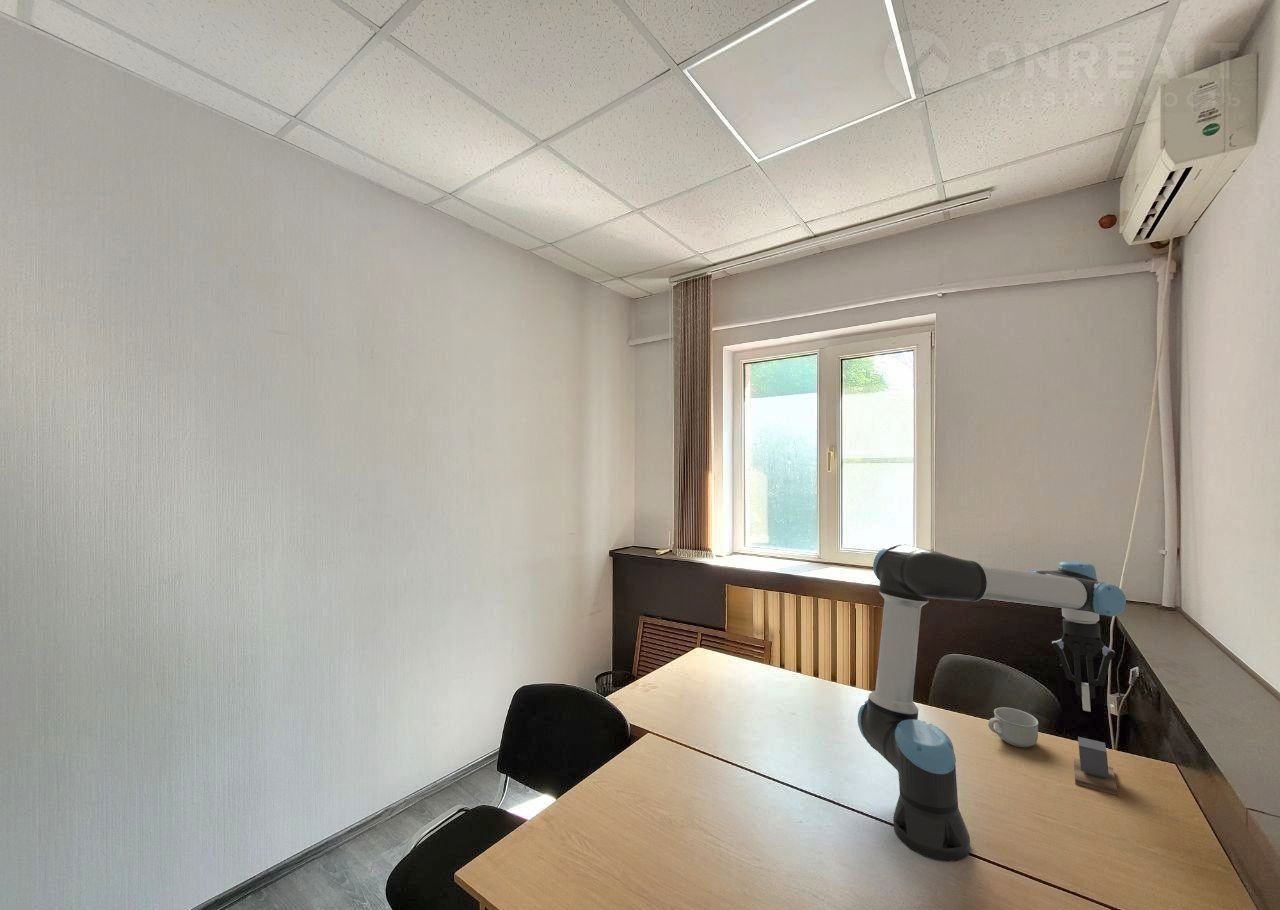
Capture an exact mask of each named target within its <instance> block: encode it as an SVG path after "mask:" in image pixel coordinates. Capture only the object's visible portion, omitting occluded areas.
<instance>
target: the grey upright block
mask: <svg viewBox="0 0 1280 910" xmlns="http://www.w3.org/2000/svg"><path fill="white" fill-rule="evenodd" d="M1077 740H1078V741H1077V742H1078V743H1077V744H1078V755H1079V759H1080V766H1081V771H1084V772H1087V773H1091V774H1095V775H1099V776H1103V777H1107V778H1109V772H1108V767H1109V765H1108V763H1109V762H1108V751H1107V747H1106V742H1104V741H1103V742H1102V741H1099V740H1096V739H1095V740H1094V739H1089V738H1086V737H1082V736H1081V737H1080V736H1077Z"/></svg>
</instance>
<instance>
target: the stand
mask: <svg viewBox="0 0 1280 910" xmlns="http://www.w3.org/2000/svg"><path fill="white" fill-rule="evenodd" d="M1072 759H1073V769H1074V781H1075V782H1074V783H1075V784H1074V785H1077V786H1078V785H1079V786H1083V787H1085V788H1089V789H1093V790H1097V791H1100V792H1104V793H1107V794H1112V795H1114V796H1119V793H1118V792H1119V791H1118V787H1117V782H1116V777H1115V770H1114V767H1111V766H1108V772H1109V778H1107V777H1103V776H1099V775H1095V774H1091V773H1087V772H1084V771H1081V766H1080V758H1074V757H1073V758H1072Z"/></svg>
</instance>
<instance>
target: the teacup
mask: <svg viewBox="0 0 1280 910" xmlns="http://www.w3.org/2000/svg"><path fill="white" fill-rule="evenodd" d="M993 714H994V717H991V718H990V719H989V720H988V722H987V723H988V724H987V726H988V728H989V729H990V731H992V733H994V734H996V735H997V736H998V737H999V738H1001V739H1002V740H1003V741H1004V742H1005V743H1007V744H1009V745H1011V746H1015V747H1017V748H1029V747H1032V746H1034V745H1035V744H1037V742H1038V739H1039V720H1038V719H1037V718H1036V717H1035V716H1034V715H1032V714H1031V713H1028V712H1025V711H1023V710H1020V709H1017V708H1013V707H1004V706H1003V707H997V708H995V709H994V710H993ZM994 727H995V728H994Z"/></svg>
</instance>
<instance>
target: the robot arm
mask: <svg viewBox="0 0 1280 910" xmlns="http://www.w3.org/2000/svg"><path fill="white" fill-rule="evenodd" d="M872 565H873V566H872V567H873V569H872V570H873V573H874V576H876V579H878V581H879V589H878V593H879V595H881V597H882V598H883V600H884V603H883V614H882V623H881V624H882V625H881V630H880V631H881V633H880V641H879V651H878V652H879V653H878V661H877V671H876V681H875V682H876V683H875V690H873V691H871V692H870V693H869V694H868V696H867V697H868V699H867V700H865V701H864V704H862V705H860V707H859V710H858V713H857V726H858V729H859V731H860V733H861V735H862V737H863V738H864V739H865V740H866V742H867V743H868V744H869V745H870V747H871V748H872V749H873V750H875V751H876V752H877V753H879V754H880V756H882V757H883V758H884V759H885V760H886V761H887V762H888V763H889V764H890V765H891V766H892V767H893V768H894V769H895V770H896V771H897V773H898V786H899V796H898V798H897V799H898V800H897V802H896V805H895V809H894V812H893V816H892V819H893V820H892V822H893V830H894V832H895V834H896V835H895V836H897V838H898V839H899V840H900V841H901V842H902V843H903V844H904V845H905V846H906V847H907V848H909V849H910V850H912V851H913V852H915V853H918V854H919V855H922V856H924V857H926V858H929V859H932V860H935V861H942V862H958V861H962V860H963V859H965V858H967V857H968V856H969V854H970V853H971V839H970V838H971V837H970V833H969V830H968V829H967V826H966V824H965V821H964V819H963V816H962V813H961V811H960V809H959V799H958V788H957V787H958V782H957V770H956V767H957V766H956V765H957V764H956V761H957V758H956V754H955V749H954V745H953V742H952V739H951V738H950V737H949V736H948V734H947V733H946V732H944V730H942V729H941V728H939V727H938V726H936V725H934V724H932V723H927V722H926V721H924V720H920V719H919V707H918V706H917V705H916V703H915V702H914V700H913V698H914V687H915V686H914V685H915V678H916V677H915V676H916V667H917V657H918V656H917V654H918V647H919V646H918V643H919V635H920V634H919V633H920V624H921V623H920V622H921V612H922V607H923V606H925V605H927V604H928V603H929V602H930V599H935V600H949V601H963V602H978V601H981V600H982V599H984V600H991V601H1002V602H1010V603H1019V604H1027V605H1034V606H1043V607H1052V608H1060V609H1061V616H1062V617H1063V618H1062V631H1063V633H1062V636H1061V638H1060V639H1058V640H1052V641H1051V646H1052V647H1053V648H1054V650H1055V651H1056V652H1057V656H1058V658H1059V660H1060V664H1061V666H1062V668H1063V671H1064V675H1065V677H1066V679H1067V680H1068V681H1072V682H1073V683H1074V684H1075V693H1076V696H1079V697H1081V701H1082V702H1081V703H1082V710H1083V711H1085V712H1090V713H1091V699H1093V700H1095V699H1096V687H1099V686H1100V687H1103V686H1104V685H1105V682H1106V679H1107V674H1108V671H1109V668H1110V667H1109V666H1110V663H1111V660H1112V659H1113V658H1114V657H1115V656H1116V652H1115V650H1114V649H1112V648H1109V647H1107V646H1106V645H1105V644H1104V642H1103V641H1102V636H1101V625H1100V623H1099V621H1100V616H1107V617H1117V616H1119V615H1121V614H1122V613H1123V612H1124V611H1125V609H1126V603H1127V597H1126V595H1125V592H1124V591H1123V590H1122V589H1121V588H1120V587H1118V586H1116V585H1114V584H1111V583H1107V582H1105V581H1098V577H1097V572H1096V567H1095V566H1094V564H1091V563H1090V562H1084V561H1076V560H1075V561H1074V560H1065V561H1064V560H1063V561H1061V562H1059V563H1058V569H1056V570H1030V571H1021V570H1012V569H1005V568H997V567H989V566H982V564H980V563H979V562H977V561H975V560H968V559H962V558H959V557H955V556H952V555H948V554H946V553H943V552H938V551H935V550H932V549H931V550H930V549H926V548H922V547H916V546H913V545H909V544H902V543H901V544H896V543H894V544H893V543H892V544H889V545H886V546H884V547H883V548H882V549H880V550H879V551H878V552H877V553H876V555H875V557H874V559H873V564H872ZM1064 645H1065V646H1066V647H1067V649H1068V650H1069V651H1070V652H1071V653H1072V654H1073V664H1074V667H1073V668H1074V674H1072V670H1071V669H1070V666H1069V663H1068V659H1067V657H1066V655H1065V652H1064V648H1065V647H1064ZM1101 650H1102V655H1103V657H1102V660H1101V664H1100V667H1099V670H1098V675H1097V677H1096V679H1095V673H1094V672H1095V669H1094V657H1095V656H1096V655H1097V654H1098V653H1099V652H1100V651H1101ZM1081 656H1085V660H1086V669H1087V670H1086V671H1087V672H1086V673H1087V682H1083V681H1082V669H1081V667H1082V666H1081Z"/></svg>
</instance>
